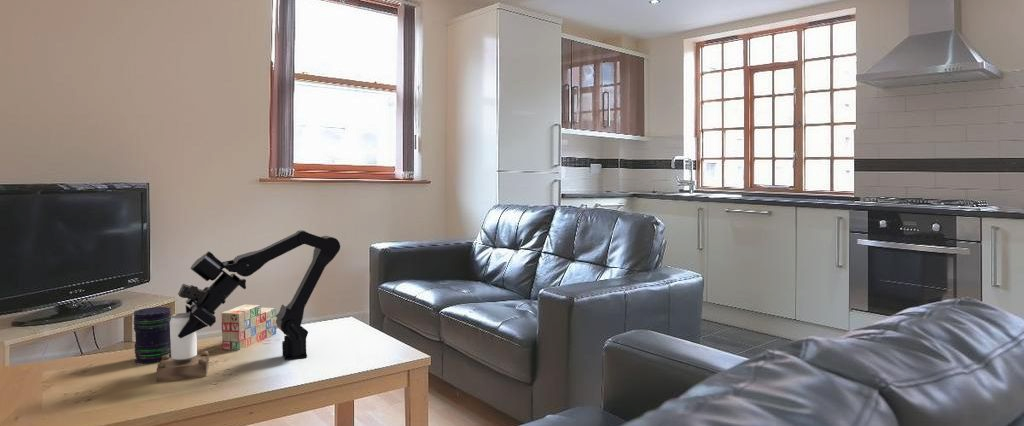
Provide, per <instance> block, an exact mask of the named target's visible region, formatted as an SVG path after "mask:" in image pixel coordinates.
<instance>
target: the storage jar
mask: <svg viewBox="0 0 1024 426" xmlns="http://www.w3.org/2000/svg"><path fill="white" fill-rule="evenodd" d="M171 311H172V310H171V308H170V307H167V306H166V307H164V306H160V307H158V306H156V307H147V308H141V309H138V310H135V311H134V312H133V330H134V332H135V333H134V334H135V335H134V336H135V343H134V356H135V363H136V365H137V364H139V365H153V364H159V363H160V362H161V360H162V356H163V355H169V358H172V357H171V341H170V320H171V318H172V317H171V316H172V314H171Z"/></svg>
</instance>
